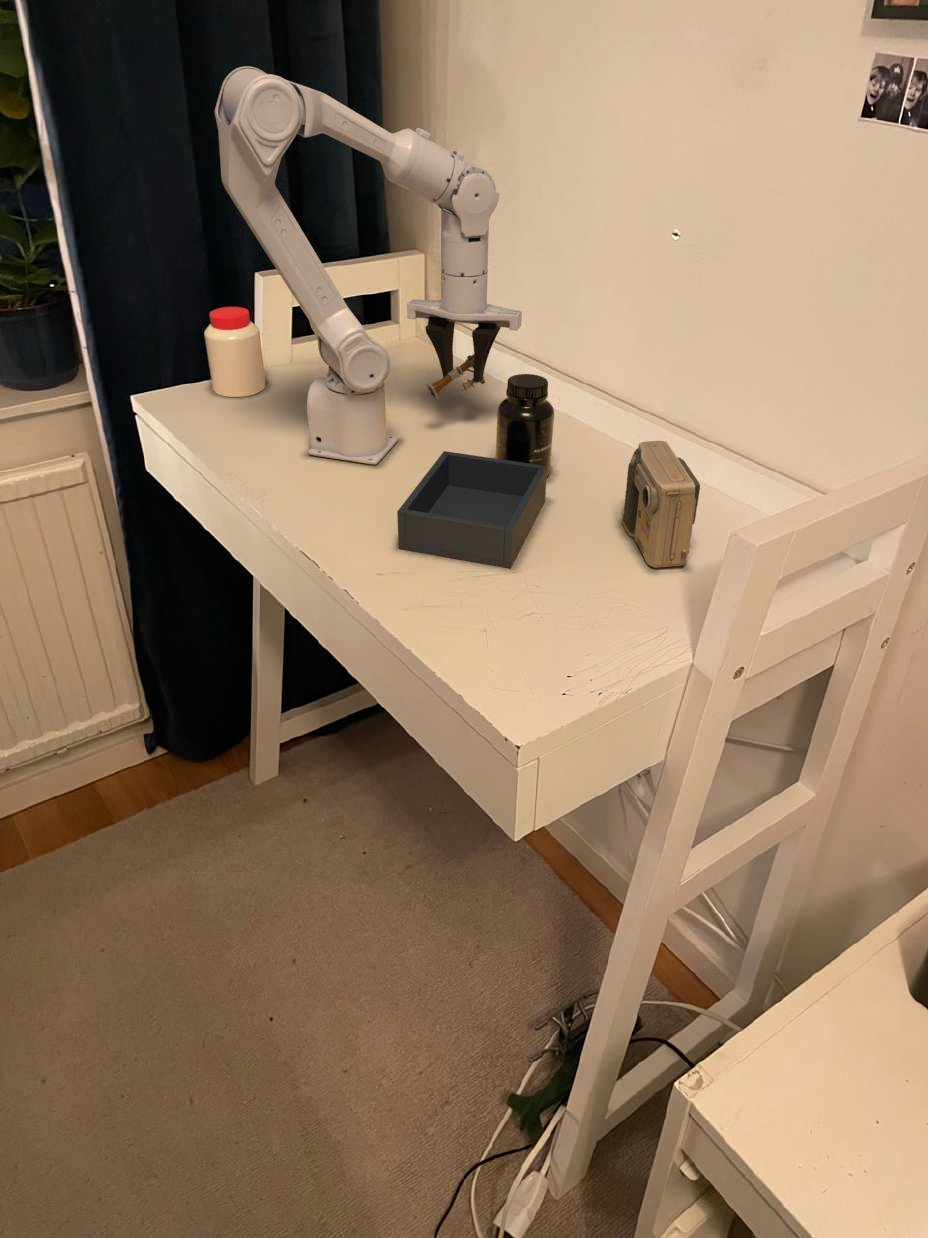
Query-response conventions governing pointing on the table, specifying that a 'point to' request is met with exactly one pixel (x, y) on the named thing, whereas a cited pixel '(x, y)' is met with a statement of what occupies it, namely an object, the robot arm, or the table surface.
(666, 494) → the camera
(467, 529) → the bin
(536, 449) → the supplement bottle
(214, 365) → the pill bottle
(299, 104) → the robot arm
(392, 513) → the table surface
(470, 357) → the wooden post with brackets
